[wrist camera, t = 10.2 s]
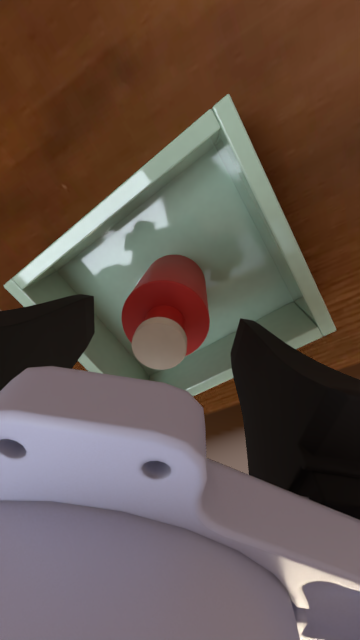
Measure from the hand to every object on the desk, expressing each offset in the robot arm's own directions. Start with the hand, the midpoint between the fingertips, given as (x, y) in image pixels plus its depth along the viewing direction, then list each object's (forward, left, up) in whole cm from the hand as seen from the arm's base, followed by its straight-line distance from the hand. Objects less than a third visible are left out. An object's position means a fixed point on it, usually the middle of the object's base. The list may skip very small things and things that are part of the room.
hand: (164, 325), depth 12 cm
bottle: (0, 0, -6) cm, 6 cm away
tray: (0, 0, -7) cm, 7 cm away
